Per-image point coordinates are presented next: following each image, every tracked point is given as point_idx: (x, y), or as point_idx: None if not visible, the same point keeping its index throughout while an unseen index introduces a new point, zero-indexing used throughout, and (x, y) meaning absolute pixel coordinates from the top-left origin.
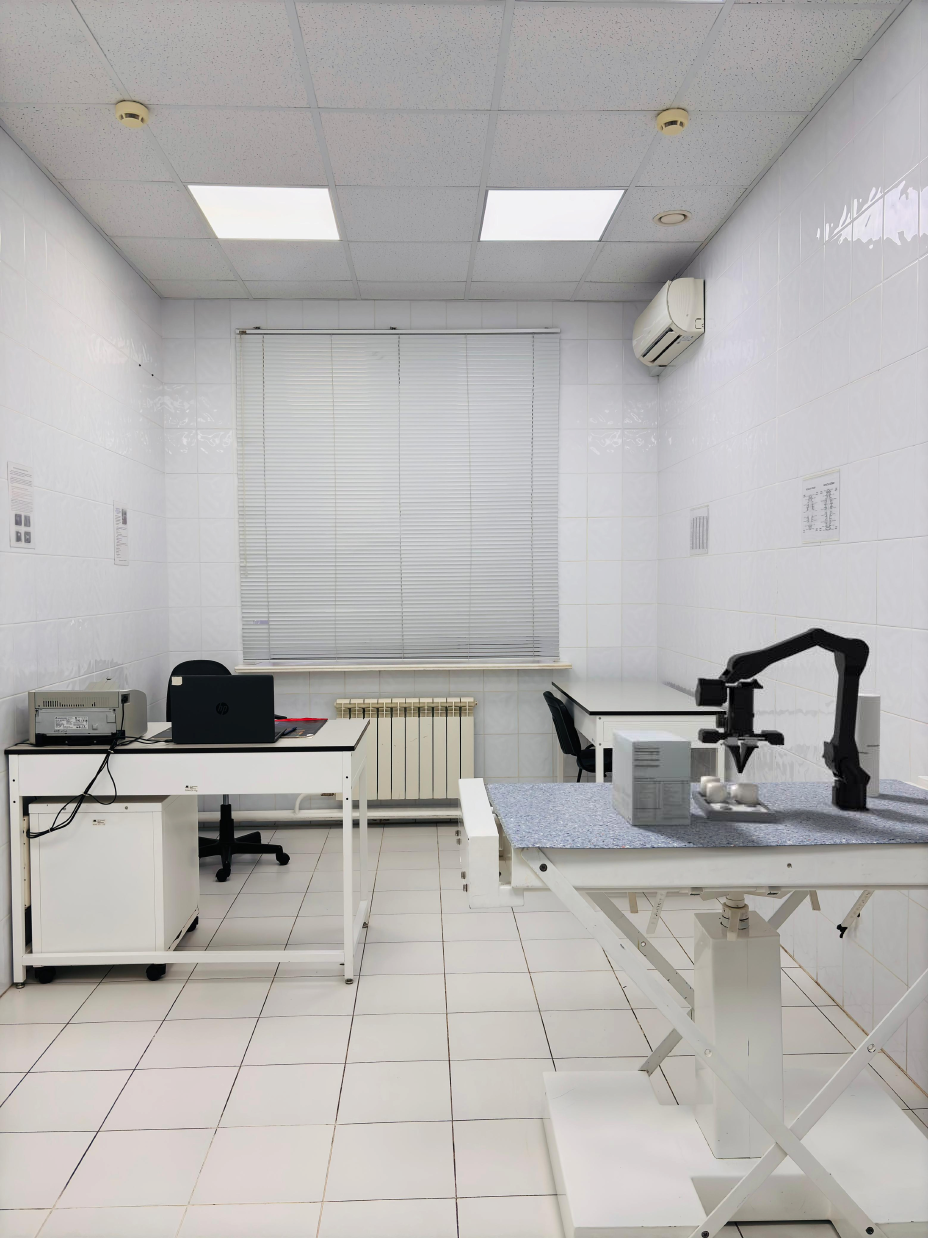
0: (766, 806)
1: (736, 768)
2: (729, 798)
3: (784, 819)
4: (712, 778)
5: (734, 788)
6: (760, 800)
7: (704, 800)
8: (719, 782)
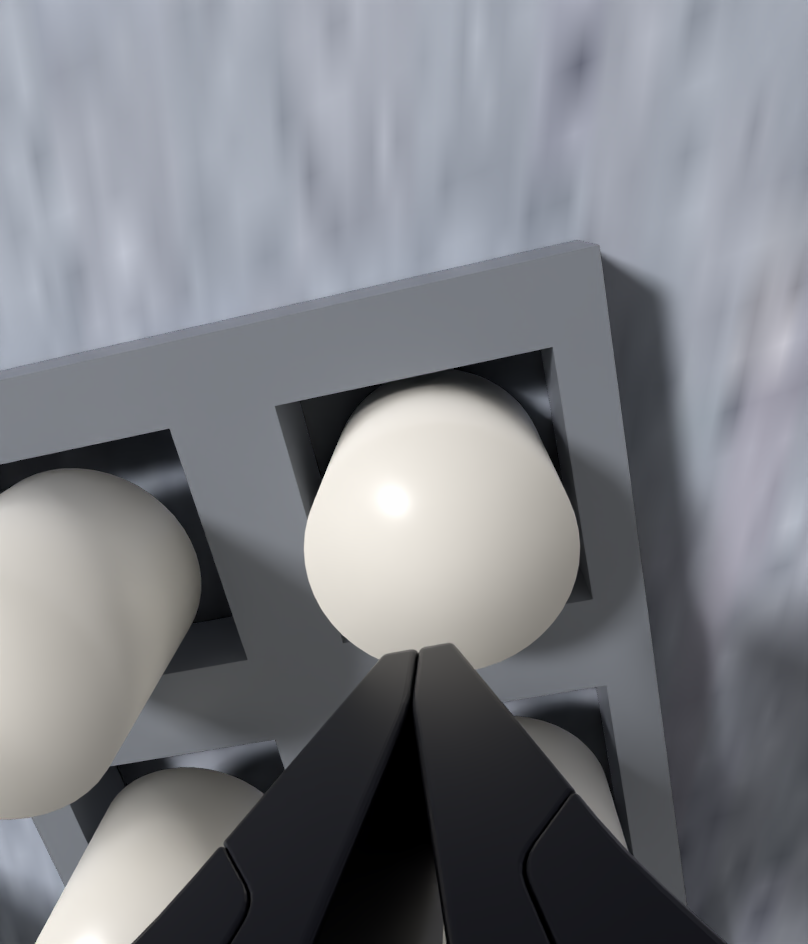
0: (674, 887)
1: (352, 695)
2: (315, 682)
3: (782, 885)
4: (5, 722)
5: (357, 645)
6: (654, 671)
7: (80, 835)
8: (135, 716)
